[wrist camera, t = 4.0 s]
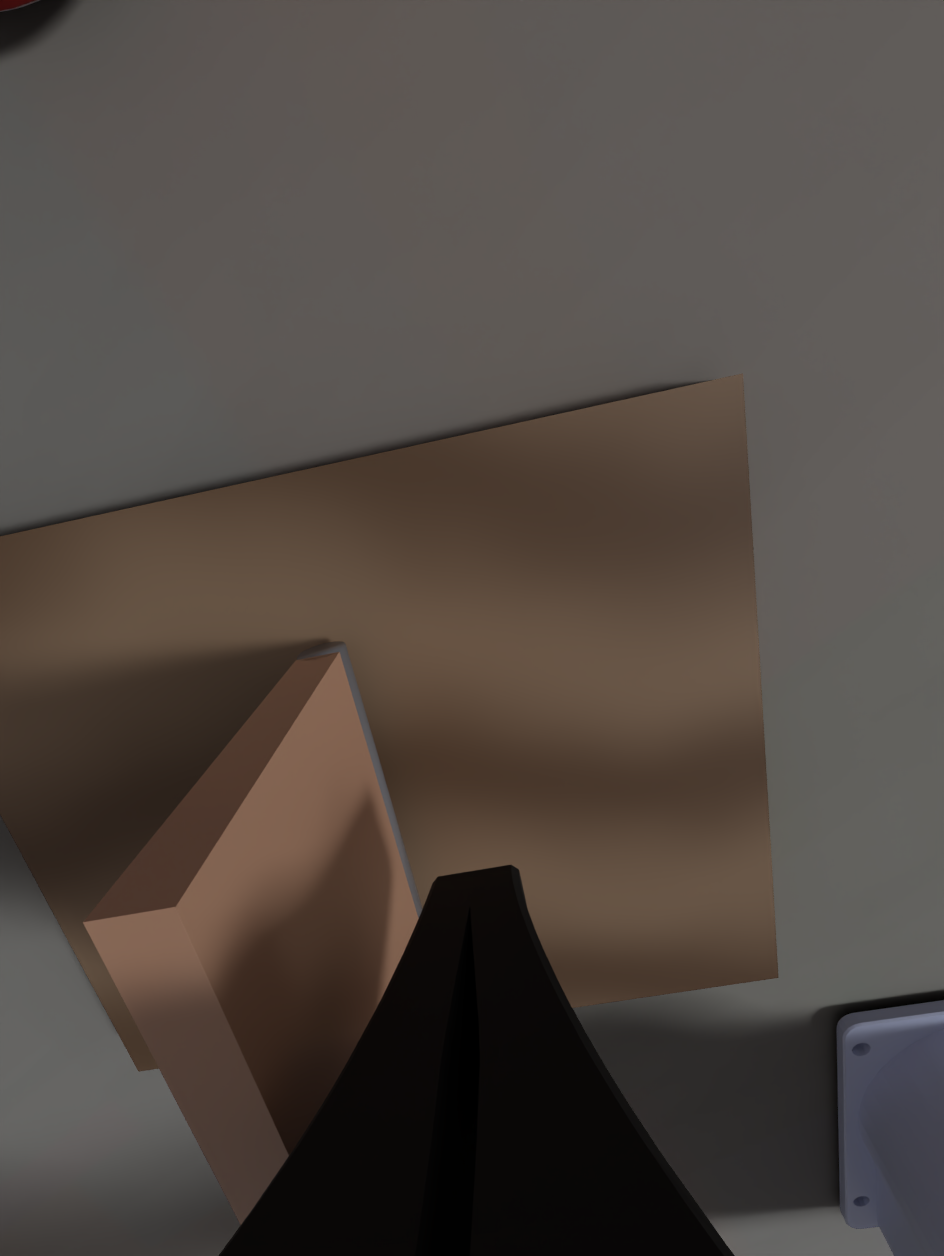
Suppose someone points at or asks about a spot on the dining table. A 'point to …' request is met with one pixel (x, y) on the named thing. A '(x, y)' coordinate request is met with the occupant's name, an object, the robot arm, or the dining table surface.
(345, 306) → the dining table surface
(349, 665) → the tile
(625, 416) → the walnut board
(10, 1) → the beverage can
